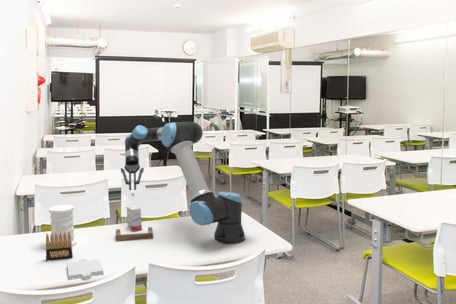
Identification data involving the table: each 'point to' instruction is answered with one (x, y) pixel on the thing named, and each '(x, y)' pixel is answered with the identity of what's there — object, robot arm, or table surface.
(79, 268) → the mounting plate
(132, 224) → the ink box
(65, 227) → the decorative container
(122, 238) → the walnut bay
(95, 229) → the table surface
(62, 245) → the ammunition clip
